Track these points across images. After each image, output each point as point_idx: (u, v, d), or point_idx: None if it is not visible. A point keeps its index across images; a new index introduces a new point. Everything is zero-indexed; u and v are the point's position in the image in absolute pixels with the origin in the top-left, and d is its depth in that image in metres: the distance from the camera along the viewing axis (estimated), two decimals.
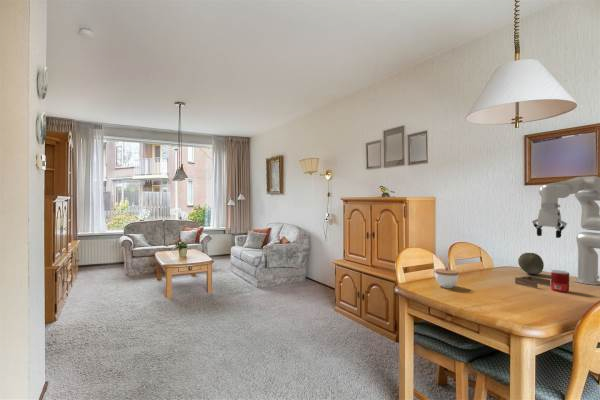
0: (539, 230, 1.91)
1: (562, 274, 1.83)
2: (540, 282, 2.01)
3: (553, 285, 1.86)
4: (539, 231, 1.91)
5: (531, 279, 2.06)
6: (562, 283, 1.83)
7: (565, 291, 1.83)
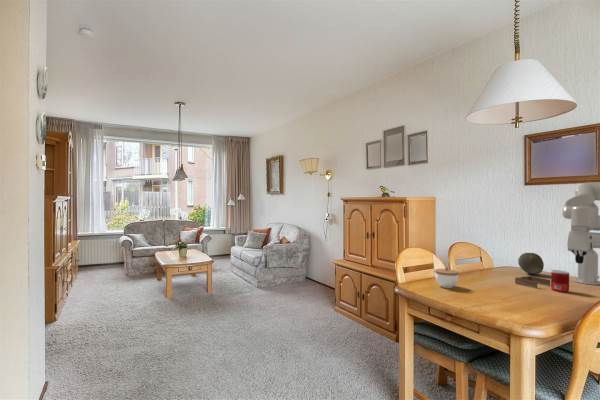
0: None
1: (562, 274, 1.83)
2: (540, 282, 2.01)
3: (553, 285, 1.86)
4: None
5: (531, 279, 2.06)
6: (562, 283, 1.83)
7: (565, 291, 1.83)
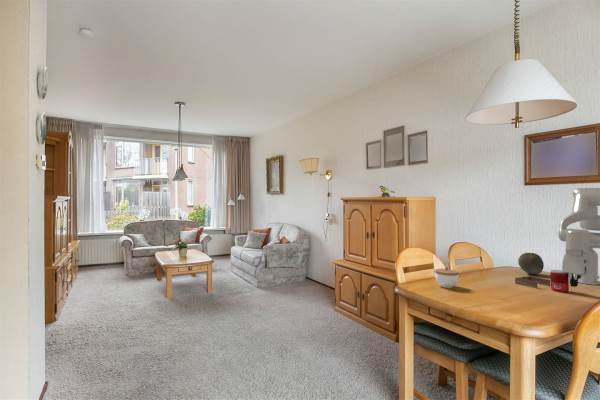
0: None
1: (561, 273, 1.84)
2: (540, 282, 2.01)
3: (553, 285, 1.86)
4: None
5: (531, 279, 2.06)
6: (561, 282, 1.83)
7: (565, 290, 1.83)
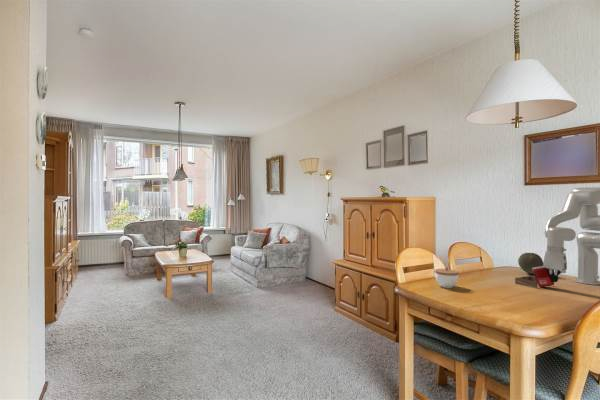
0: None
1: (542, 268, 1.92)
2: None
3: (538, 281, 1.93)
4: None
5: (531, 279, 2.06)
6: (545, 276, 1.90)
7: (551, 284, 1.89)
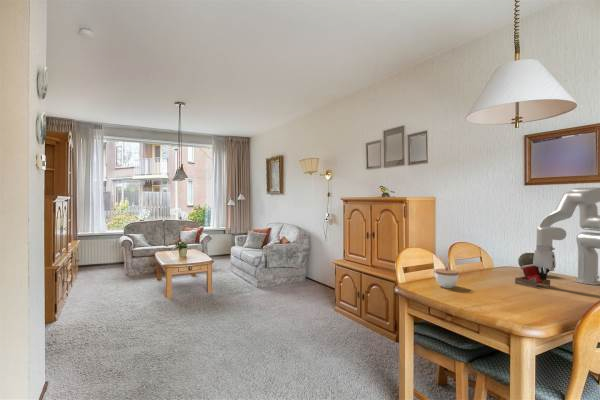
0: None
1: (532, 266, 1.97)
2: None
3: (528, 279, 1.97)
4: None
5: None
6: (535, 274, 1.95)
7: (540, 281, 1.95)
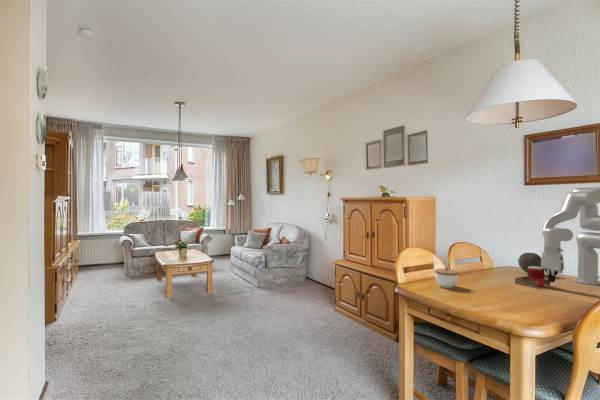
0: None
1: (539, 270, 1.94)
2: None
3: (531, 280, 1.96)
4: None
5: None
6: (539, 278, 1.94)
7: (541, 285, 1.94)
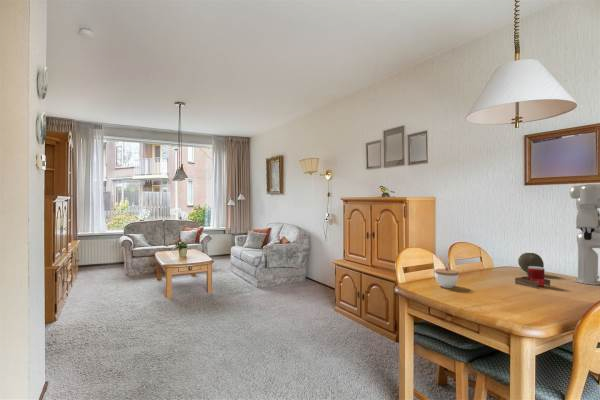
0: None
1: (539, 270, 1.94)
2: None
3: (531, 280, 1.96)
4: None
5: None
6: (539, 278, 1.94)
7: (541, 286, 1.94)
